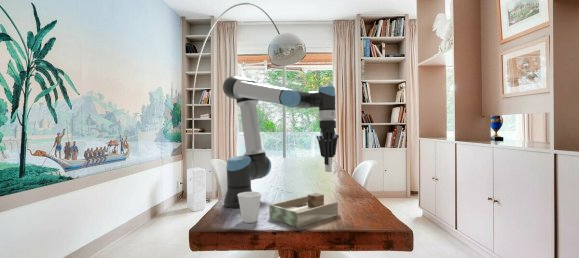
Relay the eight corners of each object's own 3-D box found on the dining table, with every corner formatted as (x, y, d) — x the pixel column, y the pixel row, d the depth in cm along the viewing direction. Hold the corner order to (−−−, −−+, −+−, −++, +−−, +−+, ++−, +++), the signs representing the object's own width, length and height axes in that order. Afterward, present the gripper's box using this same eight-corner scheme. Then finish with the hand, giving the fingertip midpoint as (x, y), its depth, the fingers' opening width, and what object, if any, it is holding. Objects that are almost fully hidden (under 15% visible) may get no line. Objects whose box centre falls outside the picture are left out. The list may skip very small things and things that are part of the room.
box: (269, 217, 133) (269, 204, 133) (308, 207, 149) (308, 195, 149) (298, 227, 120) (298, 213, 120) (337, 214, 136) (337, 202, 136)
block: (307, 206, 140) (307, 194, 140) (315, 204, 143) (315, 192, 143) (316, 208, 136) (316, 196, 136) (323, 206, 139) (323, 194, 139)
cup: (258, 225, 123) (257, 197, 123) (233, 224, 125) (233, 196, 125) (265, 217, 133) (264, 191, 133) (242, 216, 135) (242, 191, 135)
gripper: (324, 119, 138) (325, 174, 138) (343, 119, 146) (344, 170, 147) (311, 120, 143) (312, 172, 143) (330, 120, 152) (331, 169, 152)
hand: (328, 171), depth 145 cm, fingers closed
